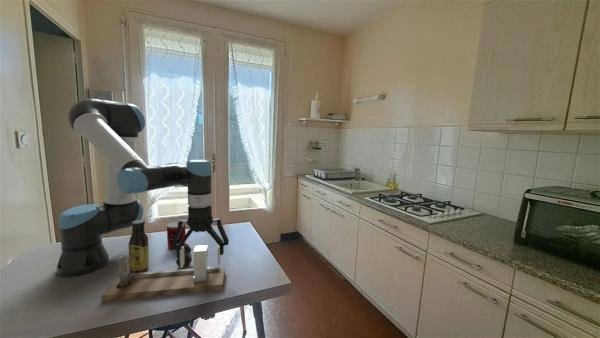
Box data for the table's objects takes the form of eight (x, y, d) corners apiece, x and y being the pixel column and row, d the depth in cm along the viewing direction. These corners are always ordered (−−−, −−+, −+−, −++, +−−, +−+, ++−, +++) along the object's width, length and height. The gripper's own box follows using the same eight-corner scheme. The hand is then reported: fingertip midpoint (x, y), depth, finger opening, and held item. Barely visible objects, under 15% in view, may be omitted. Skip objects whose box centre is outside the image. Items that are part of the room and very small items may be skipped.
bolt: (187, 254, 110) (186, 270, 96) (176, 250, 108) (173, 266, 94) (193, 242, 110) (193, 257, 97) (183, 239, 108) (181, 252, 95)
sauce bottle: (125, 273, 90) (122, 222, 87) (141, 265, 96) (139, 217, 93) (137, 277, 88) (135, 225, 85) (153, 268, 94) (151, 220, 91)
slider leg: (193, 282, 82) (192, 252, 81) (196, 273, 88) (196, 244, 86) (205, 281, 83) (205, 251, 82) (208, 272, 89) (208, 244, 87)
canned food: (180, 241, 118) (179, 219, 117) (189, 245, 114) (188, 223, 112) (164, 246, 112) (163, 224, 111) (172, 251, 108) (172, 228, 106)
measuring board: (102, 301, 75) (99, 265, 73) (118, 282, 84) (116, 250, 83) (222, 289, 83) (222, 257, 81) (224, 273, 92) (224, 244, 91)
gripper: (157, 209, 76) (160, 273, 79) (235, 207, 81) (235, 267, 84) (165, 202, 83) (167, 261, 86) (236, 201, 88) (236, 256, 91)
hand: (201, 264), depth 85 cm, fingers open, 11 cm apart
